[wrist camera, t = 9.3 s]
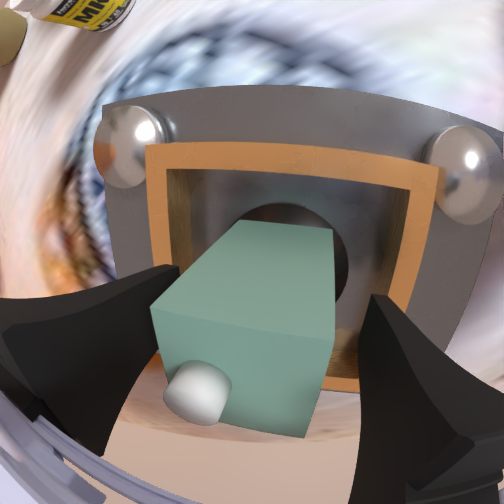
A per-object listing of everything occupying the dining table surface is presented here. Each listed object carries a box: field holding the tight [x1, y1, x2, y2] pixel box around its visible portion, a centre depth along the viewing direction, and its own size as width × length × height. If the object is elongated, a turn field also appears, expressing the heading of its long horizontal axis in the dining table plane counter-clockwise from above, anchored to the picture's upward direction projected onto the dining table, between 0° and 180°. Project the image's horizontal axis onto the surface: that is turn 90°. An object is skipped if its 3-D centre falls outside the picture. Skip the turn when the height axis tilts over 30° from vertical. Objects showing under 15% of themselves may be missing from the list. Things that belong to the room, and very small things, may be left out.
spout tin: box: [150, 220, 335, 438], centre depth 9 cm, size 4×4×8 cm
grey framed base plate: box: [93, 85, 504, 394], centre depth 13 cm, size 20×16×5 cm
